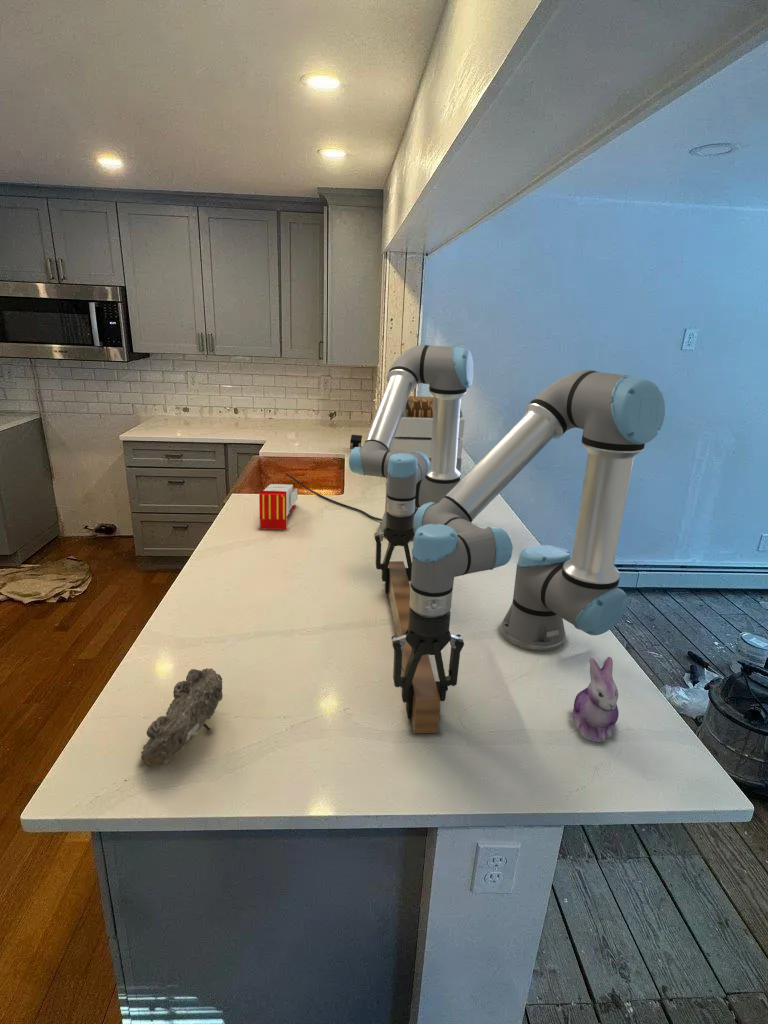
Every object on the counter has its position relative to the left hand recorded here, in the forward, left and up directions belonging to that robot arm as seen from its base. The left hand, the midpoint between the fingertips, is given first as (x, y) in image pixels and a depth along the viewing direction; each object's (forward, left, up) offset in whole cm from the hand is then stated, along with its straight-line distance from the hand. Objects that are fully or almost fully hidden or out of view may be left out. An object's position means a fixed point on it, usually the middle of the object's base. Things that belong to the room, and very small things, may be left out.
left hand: (396, 590), depth 158 cm
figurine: (+64, -5, -1) cm, 64 cm away
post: (+21, -15, -1) cm, 25 cm away
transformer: (-85, +91, -1) cm, 125 cm away
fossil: (+17, -66, -1) cm, 68 cm away
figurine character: (-137, +93, -1) cm, 166 cm away
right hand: (+41, -30, 0) cm, 51 cm away
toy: (-71, +5, -1) cm, 71 cm away
